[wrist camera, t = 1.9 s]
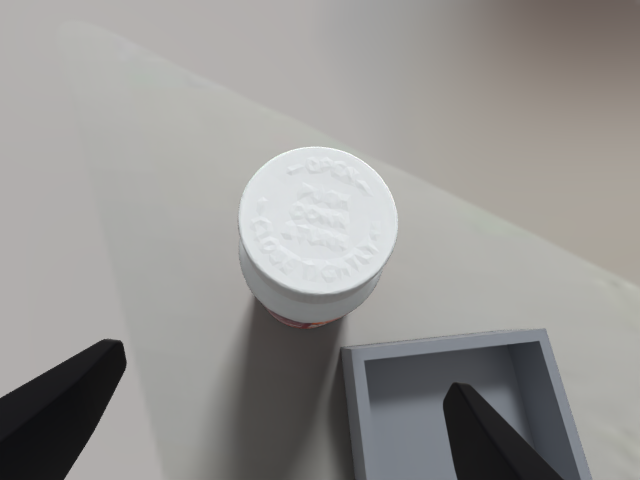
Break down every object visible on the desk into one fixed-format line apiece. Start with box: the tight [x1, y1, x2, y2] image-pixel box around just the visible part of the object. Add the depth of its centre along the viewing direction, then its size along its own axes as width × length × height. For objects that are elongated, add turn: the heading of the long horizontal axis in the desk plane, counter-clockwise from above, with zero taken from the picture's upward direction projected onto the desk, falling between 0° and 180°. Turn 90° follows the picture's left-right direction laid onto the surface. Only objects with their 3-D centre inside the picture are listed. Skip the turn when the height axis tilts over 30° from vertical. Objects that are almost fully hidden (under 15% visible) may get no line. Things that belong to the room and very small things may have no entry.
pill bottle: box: [238, 147, 398, 329], centre depth 15 cm, size 6×6×11 cm
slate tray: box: [341, 329, 592, 480], centre depth 16 cm, size 11×11×4 cm
